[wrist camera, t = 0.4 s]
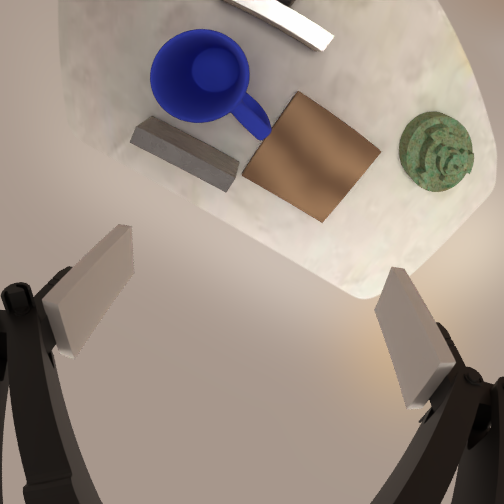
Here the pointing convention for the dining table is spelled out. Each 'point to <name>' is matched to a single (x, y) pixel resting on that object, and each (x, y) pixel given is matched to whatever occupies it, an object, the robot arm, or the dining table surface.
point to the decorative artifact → (436, 151)
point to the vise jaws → (197, 152)
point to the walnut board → (310, 158)
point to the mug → (206, 81)
